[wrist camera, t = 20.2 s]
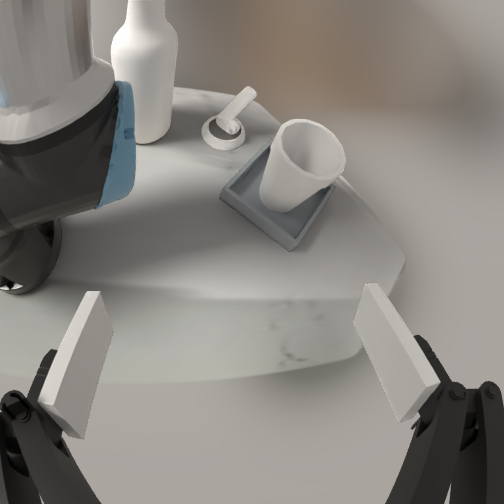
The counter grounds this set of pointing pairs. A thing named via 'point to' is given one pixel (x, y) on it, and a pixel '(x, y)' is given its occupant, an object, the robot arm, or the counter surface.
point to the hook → (229, 121)
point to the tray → (272, 223)
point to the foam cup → (300, 164)
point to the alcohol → (147, 66)
